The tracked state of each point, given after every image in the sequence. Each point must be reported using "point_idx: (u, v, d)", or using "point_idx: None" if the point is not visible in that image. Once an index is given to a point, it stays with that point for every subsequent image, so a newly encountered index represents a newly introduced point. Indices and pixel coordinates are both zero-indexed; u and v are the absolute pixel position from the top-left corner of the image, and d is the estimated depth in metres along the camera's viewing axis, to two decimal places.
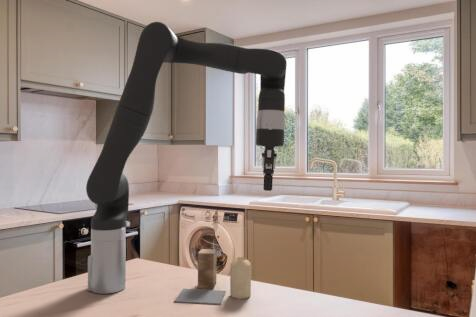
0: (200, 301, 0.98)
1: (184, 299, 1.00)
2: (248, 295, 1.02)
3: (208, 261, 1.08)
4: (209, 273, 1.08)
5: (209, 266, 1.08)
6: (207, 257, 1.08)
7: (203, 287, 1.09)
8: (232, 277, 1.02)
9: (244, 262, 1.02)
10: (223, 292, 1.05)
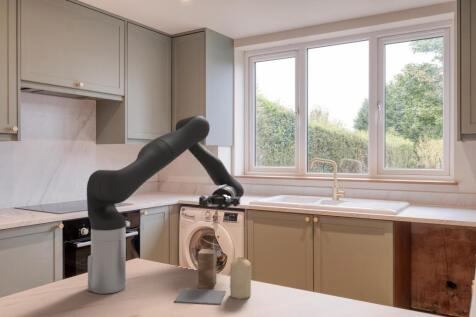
0: (200, 301, 0.98)
1: (184, 299, 1.00)
2: (248, 295, 1.02)
3: (208, 261, 1.08)
4: (209, 273, 1.08)
5: (209, 266, 1.08)
6: (207, 257, 1.08)
7: (203, 287, 1.09)
8: (232, 277, 1.02)
9: (244, 262, 1.02)
10: (223, 292, 1.05)
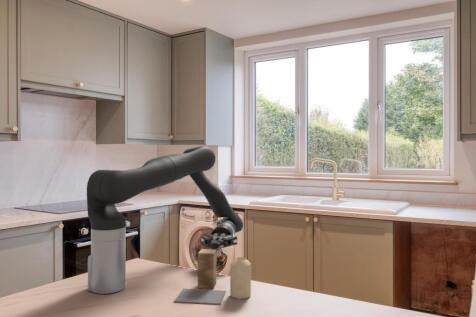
0: (200, 301, 0.98)
1: (184, 299, 1.00)
2: (248, 295, 1.02)
3: (208, 261, 1.08)
4: (209, 273, 1.08)
5: (209, 266, 1.08)
6: (207, 257, 1.08)
7: (203, 287, 1.09)
8: (232, 277, 1.02)
9: (244, 262, 1.02)
10: (223, 292, 1.05)
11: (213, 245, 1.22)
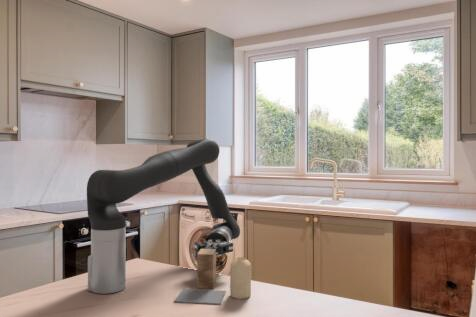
0: (200, 301, 0.98)
1: (184, 299, 1.00)
2: (248, 295, 1.02)
3: (208, 262, 1.08)
4: (209, 273, 1.08)
5: (209, 267, 1.08)
6: (206, 258, 1.08)
7: (203, 287, 1.09)
8: (232, 277, 1.02)
9: (244, 262, 1.02)
10: (223, 292, 1.05)
11: None
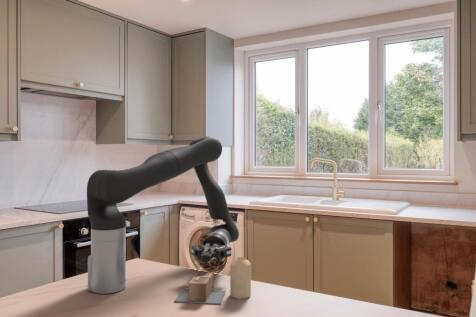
0: (200, 301, 0.98)
1: (184, 299, 1.00)
2: (248, 295, 1.02)
3: None
4: None
5: None
6: None
7: None
8: (232, 277, 1.02)
9: (244, 262, 1.02)
10: (223, 292, 1.05)
11: (204, 257, 1.08)
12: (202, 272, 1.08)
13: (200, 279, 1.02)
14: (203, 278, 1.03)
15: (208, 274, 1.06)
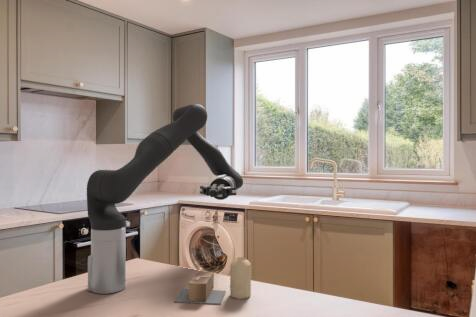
0: (200, 301, 0.98)
1: (184, 299, 1.00)
2: (248, 295, 1.02)
3: None
4: None
5: None
6: None
7: None
8: (232, 277, 1.02)
9: (244, 262, 1.02)
10: (223, 292, 1.05)
11: (211, 192, 1.19)
12: (202, 272, 1.08)
13: (200, 279, 1.02)
14: (203, 278, 1.03)
15: (208, 274, 1.06)
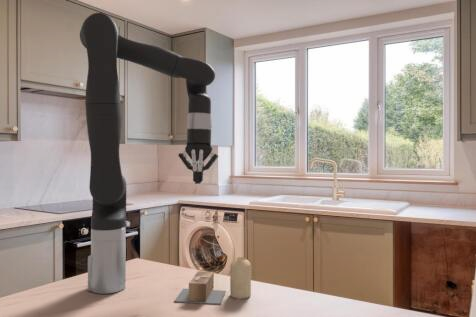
0: (200, 301, 0.98)
1: (184, 299, 1.00)
2: (248, 295, 1.02)
3: None
4: None
5: None
6: None
7: None
8: (232, 277, 1.02)
9: (244, 262, 1.02)
10: (223, 292, 1.05)
11: None
12: (202, 272, 1.08)
13: (200, 279, 1.02)
14: (203, 278, 1.03)
15: (208, 274, 1.06)
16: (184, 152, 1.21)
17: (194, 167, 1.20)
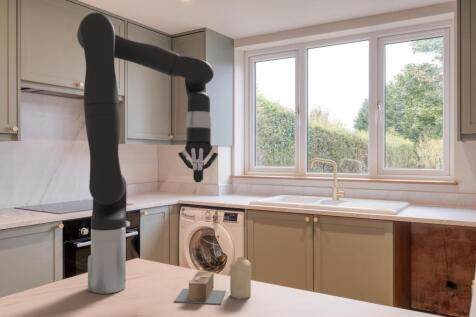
0: (200, 301, 0.98)
1: (184, 299, 1.00)
2: (248, 295, 1.02)
3: None
4: None
5: None
6: None
7: None
8: (232, 277, 1.02)
9: (244, 262, 1.02)
10: (223, 292, 1.05)
11: None
12: (202, 272, 1.08)
13: (200, 279, 1.02)
14: (203, 278, 1.03)
15: (208, 274, 1.06)
16: (184, 151, 1.21)
17: (194, 166, 1.20)
